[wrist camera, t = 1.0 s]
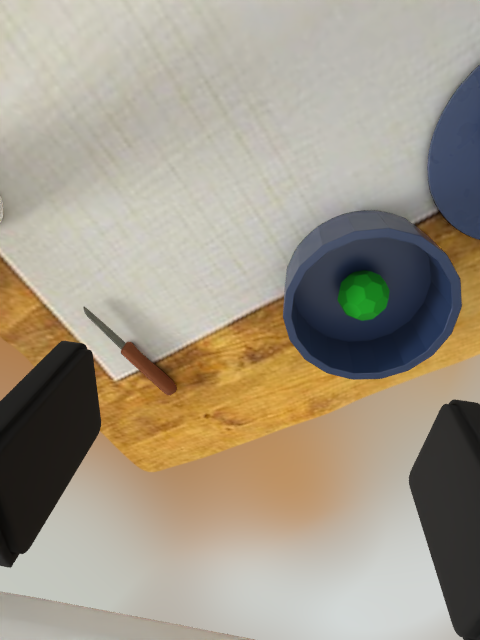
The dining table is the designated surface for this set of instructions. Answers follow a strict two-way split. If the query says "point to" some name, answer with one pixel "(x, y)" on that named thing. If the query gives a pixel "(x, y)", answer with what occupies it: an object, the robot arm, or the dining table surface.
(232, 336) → the dining table surface
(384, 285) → the polyhedron
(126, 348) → the kitchen knife
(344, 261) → the pot
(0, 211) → the cylindrical container
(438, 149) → the lid
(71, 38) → the dining table surface
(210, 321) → the dining table surface
